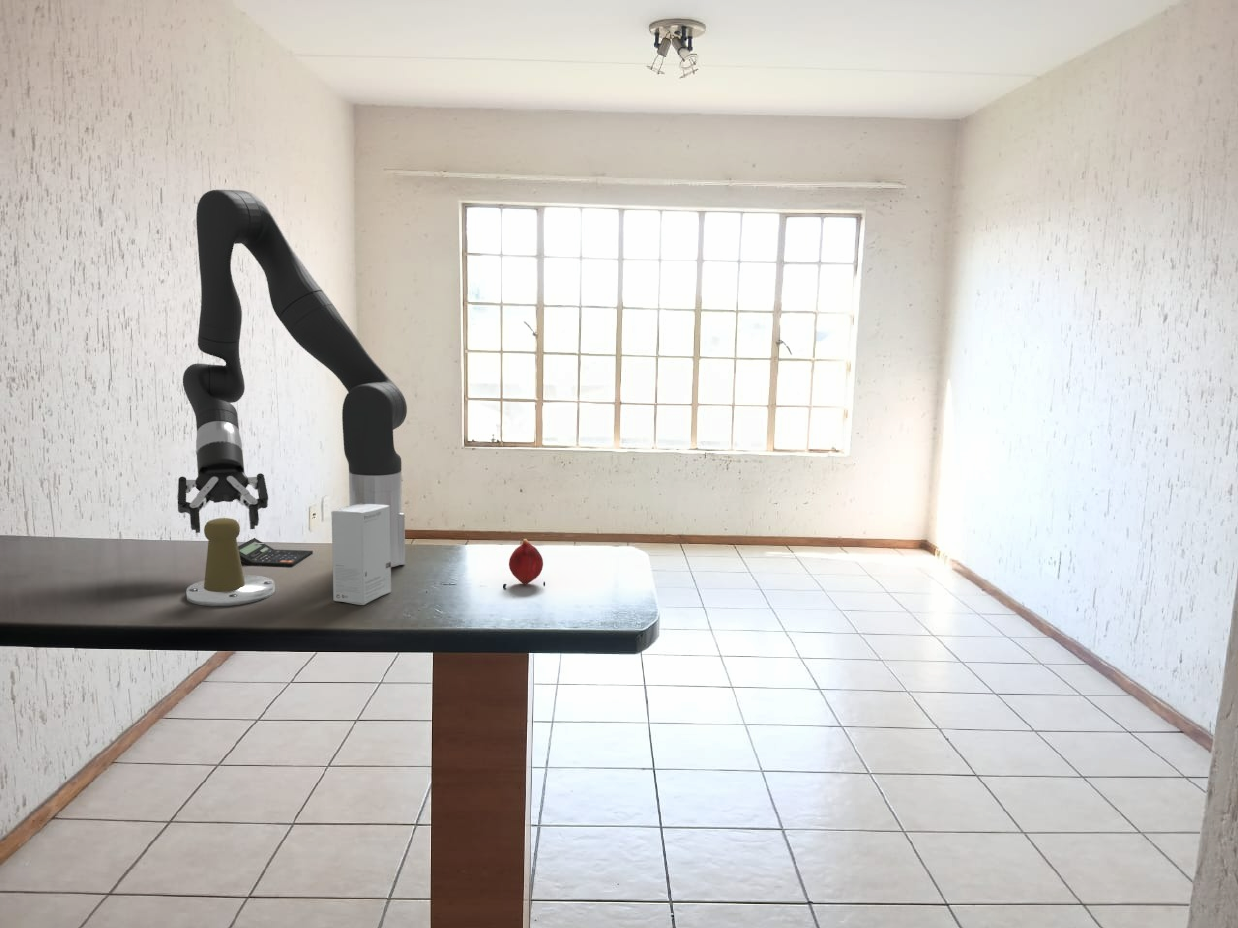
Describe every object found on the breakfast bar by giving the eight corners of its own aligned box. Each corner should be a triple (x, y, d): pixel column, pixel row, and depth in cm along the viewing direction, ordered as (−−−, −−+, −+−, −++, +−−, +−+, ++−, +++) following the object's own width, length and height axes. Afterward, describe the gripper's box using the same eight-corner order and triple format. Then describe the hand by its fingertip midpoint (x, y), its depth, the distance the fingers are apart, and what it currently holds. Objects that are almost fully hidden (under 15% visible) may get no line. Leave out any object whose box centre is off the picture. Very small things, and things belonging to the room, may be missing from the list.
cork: (229, 592, 137) (226, 524, 135) (195, 589, 138) (192, 521, 136) (252, 582, 143) (250, 516, 141) (219, 579, 144) (216, 514, 142)
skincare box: (363, 606, 136) (362, 513, 134) (330, 601, 138) (328, 509, 136) (393, 591, 144) (392, 503, 142) (361, 587, 146) (360, 500, 143)
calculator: (292, 568, 157) (292, 552, 156) (229, 566, 157) (228, 549, 157) (312, 555, 166) (312, 539, 166) (252, 552, 166) (252, 537, 166)
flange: (270, 578, 149) (270, 571, 149) (278, 600, 138) (278, 592, 137) (186, 586, 143) (185, 579, 143) (187, 610, 132) (186, 601, 131)
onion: (548, 582, 152) (549, 538, 151) (531, 591, 147) (532, 544, 145) (520, 577, 154) (520, 533, 153) (502, 585, 149) (502, 540, 148)
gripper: (174, 441, 150) (178, 519, 142) (263, 438, 157) (271, 513, 148) (175, 466, 156) (179, 543, 147) (261, 463, 162) (269, 537, 154)
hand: (225, 528), depth 148 cm, fingers open, 8 cm apart
